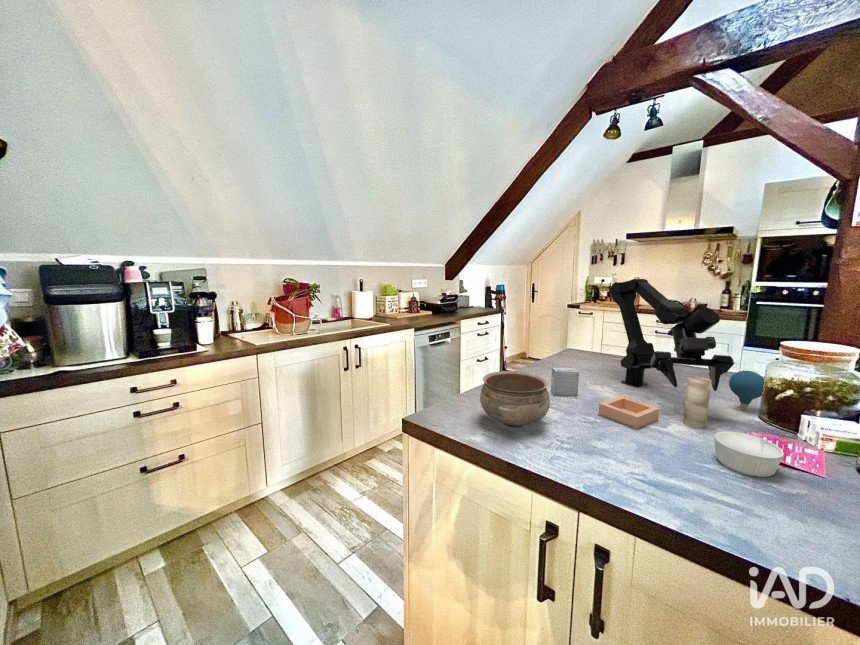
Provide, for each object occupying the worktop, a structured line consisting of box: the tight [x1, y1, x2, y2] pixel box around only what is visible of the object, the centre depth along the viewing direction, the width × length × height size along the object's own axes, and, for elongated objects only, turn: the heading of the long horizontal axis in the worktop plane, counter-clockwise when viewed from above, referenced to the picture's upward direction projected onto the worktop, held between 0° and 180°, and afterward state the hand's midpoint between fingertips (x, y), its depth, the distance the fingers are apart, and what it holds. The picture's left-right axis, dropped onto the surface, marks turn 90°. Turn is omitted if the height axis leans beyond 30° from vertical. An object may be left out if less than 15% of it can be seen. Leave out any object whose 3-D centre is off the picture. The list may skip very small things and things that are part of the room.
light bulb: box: [728, 370, 766, 411], centre depth 104 cm, size 8×8×12 cm
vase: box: [682, 375, 712, 430], centre depth 95 cm, size 5×5×13 cm
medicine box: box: [550, 367, 580, 397], centre depth 118 cm, size 8×4×9 cm, turn 84°
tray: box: [598, 395, 660, 430], centre depth 100 cm, size 11×11×4 cm
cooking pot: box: [479, 370, 551, 428], centre depth 97 cm, size 25×19×12 cm
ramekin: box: [713, 431, 785, 478], centre depth 76 cm, size 11×11×5 cm
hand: (695, 388), depth 96 cm, fingers open, 9 cm apart
